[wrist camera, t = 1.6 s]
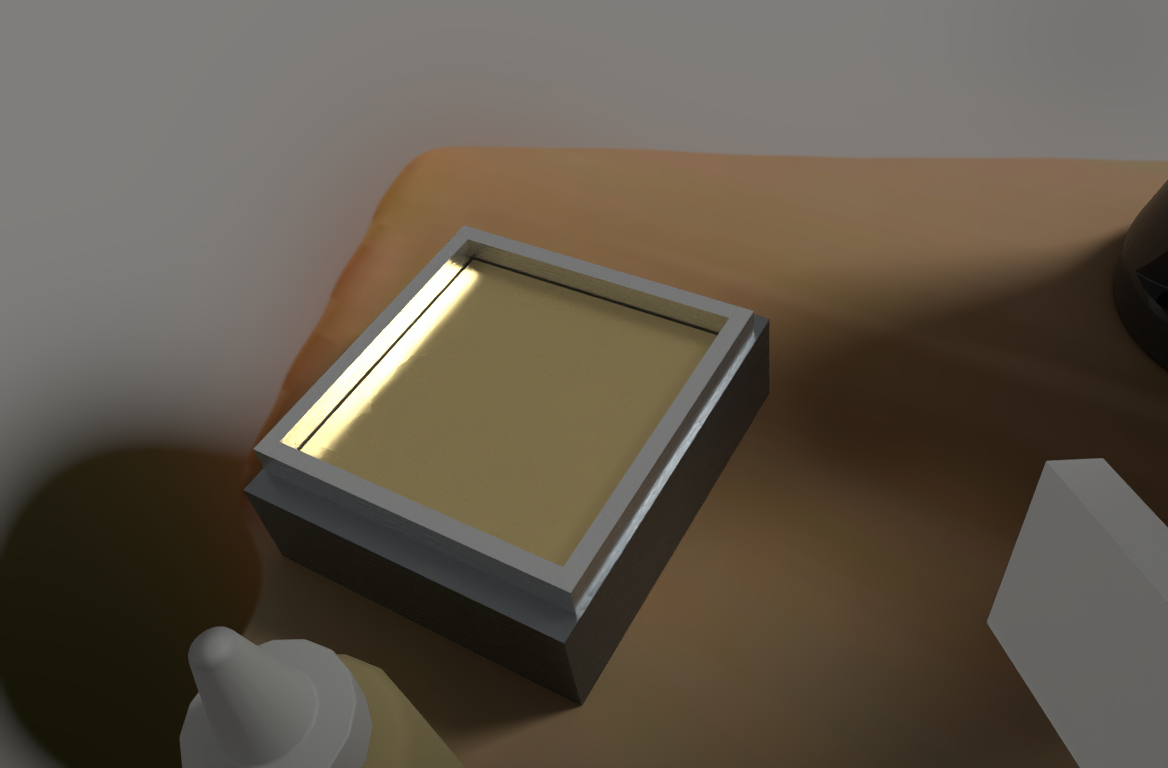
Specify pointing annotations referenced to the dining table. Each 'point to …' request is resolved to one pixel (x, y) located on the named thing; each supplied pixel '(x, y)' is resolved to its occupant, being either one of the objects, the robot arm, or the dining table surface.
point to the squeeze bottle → (299, 710)
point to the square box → (515, 450)
